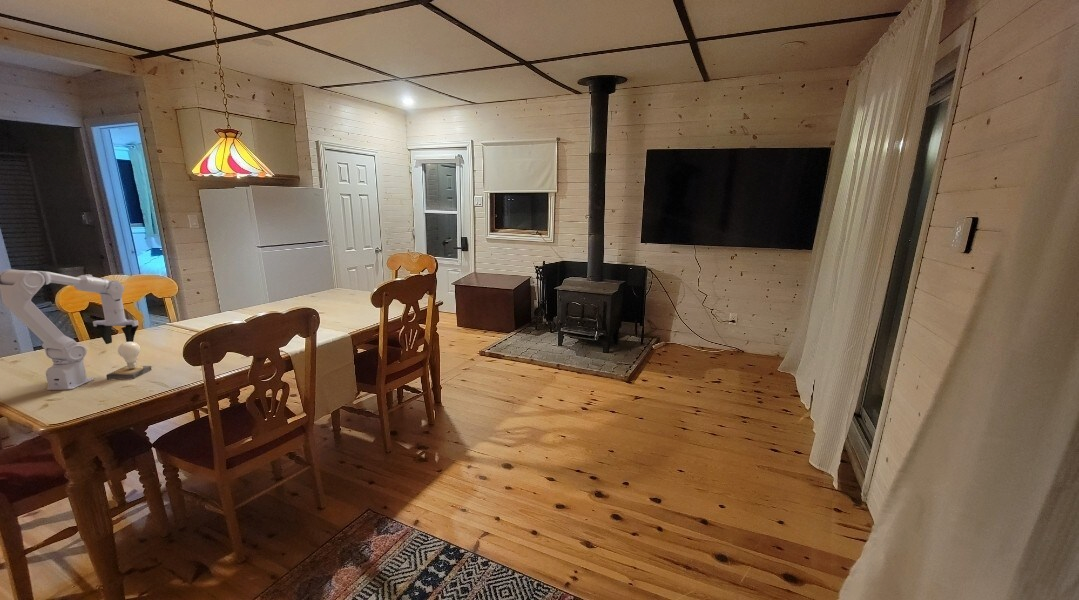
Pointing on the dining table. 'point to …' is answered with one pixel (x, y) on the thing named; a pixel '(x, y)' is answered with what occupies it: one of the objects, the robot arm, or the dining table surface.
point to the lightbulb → (129, 353)
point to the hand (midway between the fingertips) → (119, 343)
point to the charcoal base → (128, 372)
